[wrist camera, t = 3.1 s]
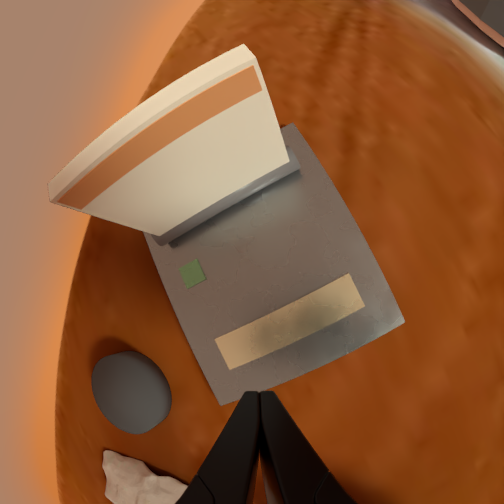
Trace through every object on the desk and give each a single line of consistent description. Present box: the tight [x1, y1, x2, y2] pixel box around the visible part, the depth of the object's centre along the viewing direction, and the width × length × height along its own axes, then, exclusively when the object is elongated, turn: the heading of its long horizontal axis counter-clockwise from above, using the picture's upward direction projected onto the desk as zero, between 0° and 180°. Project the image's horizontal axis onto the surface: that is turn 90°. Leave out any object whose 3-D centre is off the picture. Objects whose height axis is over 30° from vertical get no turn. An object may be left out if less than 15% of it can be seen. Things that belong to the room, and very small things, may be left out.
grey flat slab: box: [143, 123, 405, 406], centre depth 20 cm, size 16×14×1 cm
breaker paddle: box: [48, 44, 301, 246], centre depth 15 cm, size 2×11×11 cm, turn 117°
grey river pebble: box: [92, 351, 172, 434], centre depth 21 cm, size 7×7×2 cm
